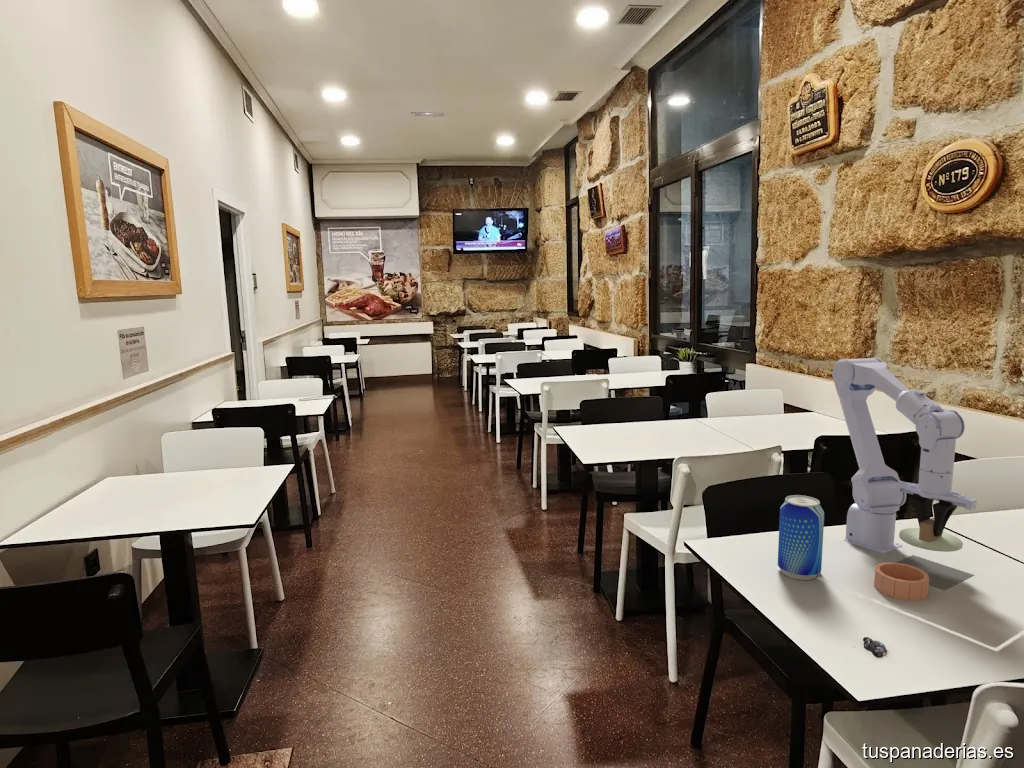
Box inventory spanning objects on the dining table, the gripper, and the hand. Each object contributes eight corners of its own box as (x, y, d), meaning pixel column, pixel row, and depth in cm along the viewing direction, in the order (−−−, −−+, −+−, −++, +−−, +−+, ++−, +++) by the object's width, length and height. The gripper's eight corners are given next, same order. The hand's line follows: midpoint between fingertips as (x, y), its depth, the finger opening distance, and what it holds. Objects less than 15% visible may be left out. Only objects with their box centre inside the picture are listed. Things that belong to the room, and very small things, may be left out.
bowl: (864, 588, 128) (865, 569, 128) (889, 577, 133) (890, 558, 132) (911, 606, 121) (913, 586, 120) (936, 594, 125) (937, 574, 125)
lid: (888, 538, 135) (889, 518, 134) (916, 526, 140) (917, 508, 140) (945, 556, 126) (947, 535, 125) (972, 543, 131) (974, 523, 131)
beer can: (826, 571, 136) (830, 499, 134) (812, 585, 130) (816, 509, 128) (786, 560, 142) (789, 491, 139) (771, 573, 136) (774, 501, 133)
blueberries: (862, 666, 104) (864, 655, 104) (838, 636, 112) (839, 626, 112) (904, 665, 104) (905, 655, 104) (877, 635, 112) (878, 625, 112)
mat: (882, 570, 136) (882, 568, 136) (912, 557, 142) (913, 554, 142) (944, 592, 126) (944, 590, 126) (974, 577, 132) (974, 575, 132)
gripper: (889, 464, 135) (884, 526, 137) (966, 481, 123) (960, 549, 125) (907, 459, 138) (902, 519, 141) (984, 475, 126) (977, 541, 128)
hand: (930, 533), depth 133 cm, fingers closed on lid, 2 cm apart
